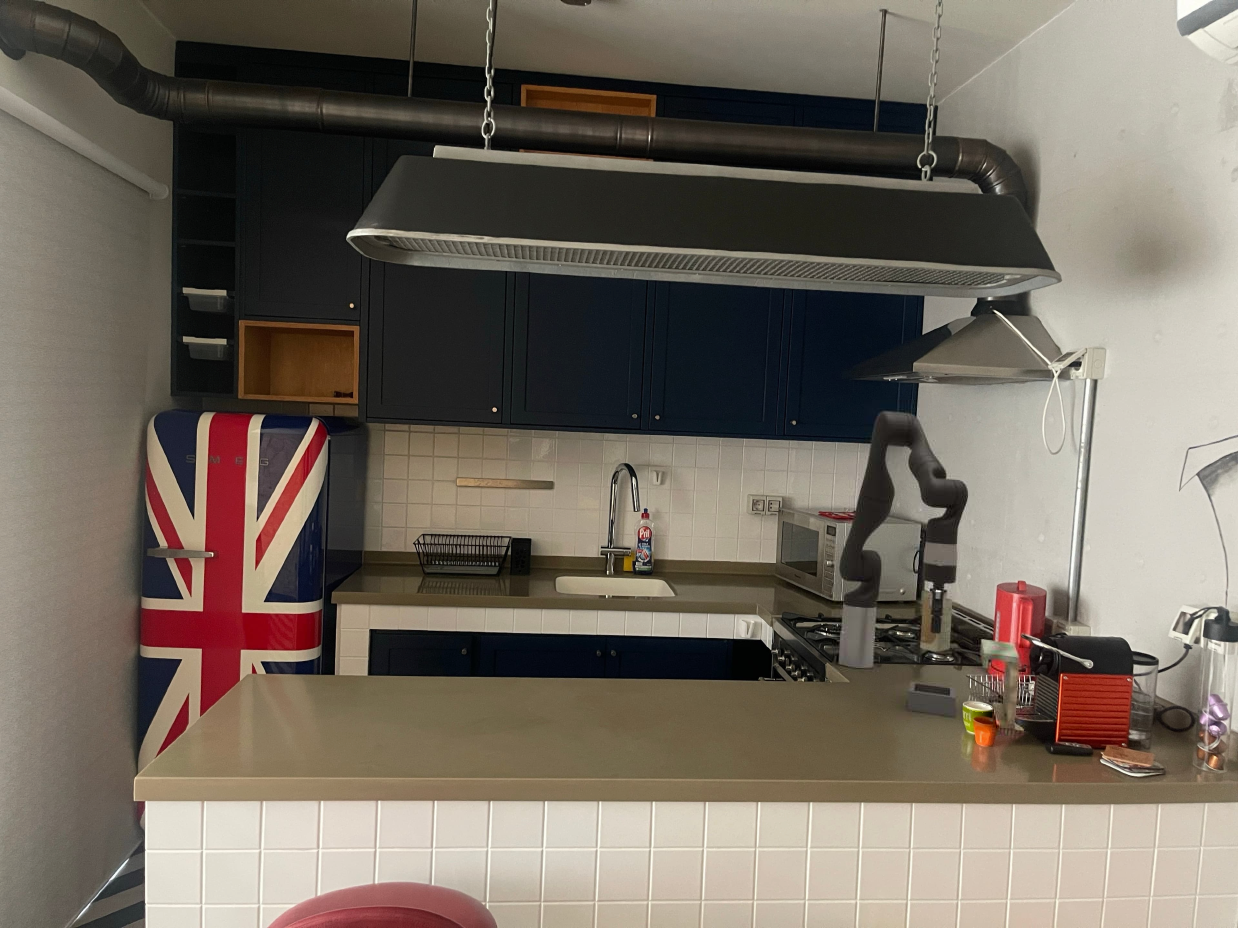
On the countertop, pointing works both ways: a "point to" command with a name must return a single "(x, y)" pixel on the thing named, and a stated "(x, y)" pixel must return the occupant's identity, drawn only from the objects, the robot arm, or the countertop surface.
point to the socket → (932, 699)
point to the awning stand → (1011, 658)
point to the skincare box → (942, 639)
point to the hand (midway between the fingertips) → (935, 630)
